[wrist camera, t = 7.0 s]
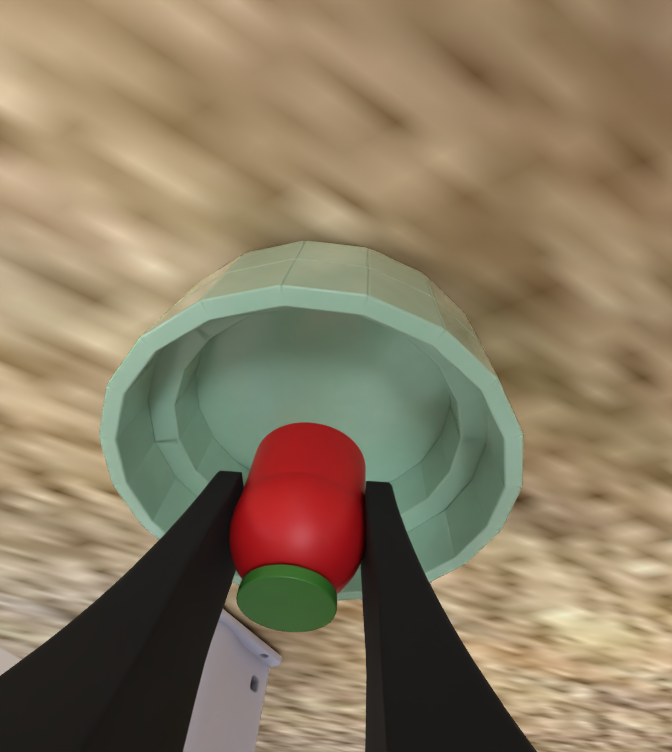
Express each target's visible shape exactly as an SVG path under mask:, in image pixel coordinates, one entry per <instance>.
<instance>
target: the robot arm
mask: <svg viewBox="0 0 672 752" xmlns="http://www.w3.org/2000/svg"><path fill="white" fill-rule="evenodd" d="M243 489H244V484H243V477H242V472H235V471H219V472H218V473H216V475H215V476H214V477H213V478H212V480H211V481H210V482H209V483H208V485H207V486H206V487H205V488H204V490H203V491H202V492H201V493H200V494H199V496H198V497H197V498H196V499H195V500H194V502H193V503H192V504H191V505H190V506H189V507H188V509H187V510H186V511H185V512H184V513H183V514H182V515H181V517H180V518H179V519H178V520H177V521H176V522H175V523H174V524H173V525H172V527H171V528H170V529H169V530H168V531H167V532H166V533H165V534H164V535H163V536H162V538H161V539H160V540H159V541H158V542H157V543H156V544H155V545H154V546H153V547H152V548H151V549H150V550H149V551H148V552H147V553H146V554H145V555H144V556H143V557H142V558H141V559H140V560H139V561H138V562H137V563H136V564H135V565H134V566H133V567H132V568H131V569H130V570H129V571H128V572H127V573H126V574H125V575H124V576H123V577H122V578H121V579H119V580H118V581H117V582H116V583H115V584H114V585H113V586H112V587H111V588H110V589H109V590H107V591H106V592H105V593H104V594H103V595H102V596H101V597H100V598H99V599H97V600H96V601H95V602H94V603H93V604H92V605H90V606H89V607H88V608H87V609H86V610H84V611H83V612H82V613H81V614H80V615H78V616H77V617H76V618H75V619H74V620H72V621H71V622H70V623H69V624H68V625H67V626H65V627H64V628H63V629H62V630H60V631H59V632H58V633H57V634H55V635H54V636H53V637H52V638H50V639H49V640H48V641H46V642H45V643H44V644H43V645H41V646H40V647H38V648H37V649H36V650H34V651H33V652H32V653H30V654H29V655H28V656H26V657H25V658H24V659H22V660H21V661H20V662H19V663H17V664H16V665H14V666H13V667H12V668H10V669H9V670H8V671H6V672H5V673H4V674H2V675H1V676H0V752H255V746H256V741H257V735H258V730H259V724H260V719H261V713H262V708H263V702H264V697H265V691H266V686H267V680H268V675H269V669H270V667H275V666H278V665H280V664H281V656H280V655H279V654H278V653H277V652H276V651H274V650H273V649H272V648H271V647H270V646H268V645H267V644H266V643H265V642H263V641H262V640H261V639H260V638H258V637H257V636H256V635H255V634H253V633H252V632H251V631H250V630H249V629H247V628H246V627H245V626H244V625H242V624H241V623H240V622H239V621H237V620H236V619H235V618H234V617H233V616H231V615H230V614H229V613H228V612H226V611H225V610H224V609H223V607H224V604H225V601H226V598H227V595H228V592H229V589H230V586H231V583H232V580H233V577H234V575H235V572H236V568H235V565H234V563H233V560H232V556H231V551H230V544H229V532H230V523H231V519H232V516H233V512H234V509H235V507H236V504H237V502H238V500H239V499H240V497H241V494H242V492H243ZM361 584H362V600H363V616H364V632H365V648H366V674H367V681H366V745H365V752H537V751H536V750H535V749H534V747H533V746H532V745H531V743H530V742H529V741H528V739H527V738H526V736H525V735H524V734H523V732H522V731H521V729H520V728H519V727H518V725H517V724H516V723H515V721H514V720H513V718H512V717H511V716H510V714H509V713H508V711H507V710H506V709H505V707H504V706H503V704H502V703H501V701H500V700H499V698H498V697H497V695H496V694H495V692H494V691H493V689H492V688H491V686H490V685H489V683H488V682H487V680H486V679H485V677H484V676H483V674H482V673H481V671H480V670H479V668H478V667H477V665H476V664H475V662H474V661H473V659H472V657H471V656H470V654H469V652H468V651H467V649H466V647H465V646H464V644H463V643H462V641H461V639H460V638H459V636H458V634H457V633H456V631H455V629H454V627H453V626H452V624H451V622H450V620H449V619H448V617H447V615H446V613H445V611H444V610H443V608H442V606H441V604H440V602H439V600H438V598H437V597H436V595H435V593H434V591H433V589H432V587H431V585H430V583H429V581H428V579H427V577H426V575H425V572H424V570H423V568H422V566H421V564H420V562H419V560H418V557H417V555H416V553H415V550H414V548H413V546H412V543H411V541H410V539H409V536H408V534H407V531H406V529H405V526H404V523H403V520H402V518H401V515H400V512H399V509H398V506H397V502H396V499H395V495H394V491H393V487H392V485H391V484H390V483H389V482H378V481H366V488H365V551H364V556H363V559H362V561H361Z"/></svg>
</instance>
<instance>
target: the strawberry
mask: <svg viewBox="0 0 672 752" xmlns="http://www.w3.org/2000/svg"><path fill="white" fill-rule="evenodd" d="M365 484H366V466H365V460H364V457H363V454H362V452H361V450H360V449H359V447H358V446H357V445H356V443H355V442H354V441H353V440H352V439H351V438H350V437H348V436H347V435H346V434H344V433H343V432H341V431H339V430H337V429H335V428H333V427H330V426H327V425H323V424H319V423H311V422H299V423H292V424H288V425H284V426H282V427H279V428H277V429H275V430H274V431H272V432H271V433H269V434H268V435H267V436H266V437H265V438H264V439H263V440H262V441H261V443H260V444H259V446H258V448H257V451H256V454H255V456H254V459H253V462H252V465H251V468H250V471H249V474H248V477H247V480H246V483H245V486H244V489H243V492H242V494H241V497H240V499H239V500H238V502H237V504H236V507H235V509H234V512H233V516H232V519H231V523H230V532H229V544H230V551H231V556H232V560H233V563H234V565H235V568H236V570H237V572H238V574H239V576H240V577H241V579H242V580H241V582H240V585H239V589H238V593H237V604H238V607H239V608H240V610H241V611H242V613H243V614H244V615H245V616H246V617H248V618H249V619H250V620H252V621H254V622H255V623H257V624H259V625H262V626H264V627H267V628H270V629H274V630H278V631H284V632H307V631H312V630H316V629H319V628H321V627H323V626H325V625H327V624H328V623H330V622H331V621H332V620H333V618H334V616H335V614H336V610H337V594H338V593H339V592H340V591H342V590H343V589H344V588H345V587H346V586H347V584H348V583H349V582H350V581H351V580H352V578H353V577H354V575H355V573H356V572H357V570H358V568H359V566H360V564H361V561H362V559H363V556H364V551H365Z"/></svg>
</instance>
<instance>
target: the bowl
mask: <svg viewBox="0 0 672 752" xmlns="http://www.w3.org/2000/svg"><path fill="white" fill-rule="evenodd" d="M299 422H311V423H319V424H323V425H327V426H330V427H333V428H335V429H337V430H339V431H341V432H343V433H344V434H346V435H347V436H348V437H350V438H351V439H352V440H353V441H354V442H355V443H356V445H357V446H358V447H359V449H360V450H361V452H362V454H363V457H364V460H365V466H366V481H378V482H389V483H390V484H391V485H392V487H393V491H394V495H395V499H396V502H397V506H398V509H399V512H400V515H401V518H402V520H403V523H404V526H405V529H406V531H407V534H408V536H409V539H410V541H411V543H412V546H413V548H414V550H415V553H416V555H417V557H418V560H419V562H420V564H421V566H422V568H423V570H424V572H425V575H426V577H427V579H428V581H429V582H431V581H433V580H435V579H437V578H439V577H441V576H443V575H445V574H447V573H449V572H451V571H453V570H455V569H457V568H458V567H460V566H462V565H464V564H465V563H467V562H468V561H469V560H470V559H471V558H473V557H474V556H475V555H476V554H477V553H478V552H479V551H480V550H481V549H482V548H483V547H484V546H485V545H486V544H487V543H488V542H489V541H490V540H492V539H493V538H494V537H495V536H496V535H497V534H498V533H499V532H500V530H501V529H502V528H503V526H504V523H505V521H506V519H507V517H508V515H509V513H510V511H511V509H512V507H513V505H514V503H515V501H516V499H517V497H518V495H519V493H520V491H521V489H522V483H523V438H524V436H523V432H522V429H521V427H520V425H519V423H518V420H517V418H516V416H515V414H514V412H513V409H512V407H511V405H510V403H509V400H508V398H507V396H506V394H505V391H504V389H503V387H502V385H501V383H500V380H499V378H498V376H497V375H496V373H495V371H494V369H493V367H492V365H491V363H490V361H489V359H488V357H487V355H486V353H485V351H484V349H483V347H482V345H481V343H480V341H479V339H478V337H477V336H476V334H475V332H474V330H473V328H472V326H471V324H470V322H469V320H468V318H467V316H466V315H465V314H464V312H463V311H462V310H461V309H460V308H459V307H458V306H457V305H456V304H455V303H454V302H453V301H452V300H451V299H450V298H449V297H448V296H447V295H446V294H444V293H443V292H442V291H441V290H440V289H439V288H438V287H437V286H436V285H435V284H434V283H433V282H432V281H431V280H430V279H429V278H428V277H427V276H424V274H423V273H421V272H419V271H417V270H415V269H413V268H411V267H409V266H406V265H404V264H402V263H400V262H398V261H396V260H394V259H391V258H389V257H387V256H385V255H383V254H381V253H379V252H376V251H374V250H372V249H368V248H366V247H358V246H349V245H341V244H332V243H324V242H315V241H299V242H294V243H290V244H285V245H280V246H276V247H271V248H266V249H262V250H257V251H252V252H248V253H246V254H244V255H241V256H239V257H238V258H236V259H235V260H233V261H231V262H230V263H228V264H227V265H225V266H224V267H222V268H220V269H219V270H217V271H216V272H214V273H212V274H211V275H209V276H208V277H206V278H204V279H203V280H201V281H200V282H199V283H197V284H196V285H195V286H194V287H193V288H192V289H191V290H190V291H189V292H188V293H187V294H186V295H185V296H184V297H182V298H181V299H180V300H179V301H178V302H177V303H176V304H175V305H174V306H173V307H172V308H171V309H169V310H168V311H167V312H166V313H165V314H164V315H163V316H162V317H161V318H160V319H159V320H158V321H157V322H156V323H154V324H153V325H152V326H151V327H150V328H149V329H148V330H147V331H146V332H145V333H144V334H143V335H142V336H140V337H139V338H138V340H137V341H136V343H135V344H134V346H133V347H132V349H131V350H130V351H129V353H128V354H127V356H126V357H125V359H124V360H123V362H122V363H121V365H120V366H119V367H118V369H117V370H116V372H115V373H114V375H113V376H112V378H111V379H110V380H109V382H108V384H107V386H106V392H105V399H104V405H103V412H102V419H101V426H100V432H99V436H100V437H99V439H100V442H101V446H102V450H103V453H104V457H105V460H106V464H107V467H108V471H109V474H110V478H111V482H112V483H113V486H114V487H115V489H116V490H117V491H118V493H119V494H120V496H121V497H122V499H123V500H124V501H125V503H126V504H127V506H128V507H129V509H130V510H131V511H132V513H133V514H134V516H135V517H136V519H137V520H138V521H139V523H140V524H141V525H142V526H143V527H144V528H146V529H147V530H148V531H149V532H150V533H152V534H153V535H154V536H155V537H156V538H157V539H159V540H160V539H161V538H162V536H163V535H164V534H165V533H166V532H167V531H168V530H169V529H170V528H171V527H172V525H173V524H174V523H175V522H176V521H177V520H178V519H179V518H180V517H181V515H182V514H183V513H184V512H185V511H186V510H187V509H188V507H189V506H190V505H191V504H192V503H193V502H194V500H195V499H196V498H197V497H198V496H199V494H200V493H201V492H202V491H203V490H204V488H205V487H206V486H207V485H208V483H209V482H210V481H211V480H212V478H213V477H214V476H215V475H216V473H218V472H219V471H235V472H242V477H243V484H244V486H245V483H246V480H247V477H248V474H249V471H250V468H251V465H252V462H253V459H254V456H255V454H256V451H257V448H258V446H259V444H260V443H261V441H262V440H263V439H264V438H265V437H266V436H267V435H268V434H269V433H271V432H272V431H274V430H275V429H277V428H279V427H282V426H284V425H288V424H292V423H299ZM365 488H366V484H365ZM241 580H242V579H241V577H240V576H239V574H238V572H237V570H236V572H235V575H234V577H233V580H232V583H235V584H238V585H240V582H241ZM353 599H362V584H361V564H360V566H359V568H358V570H357V572H356V573H355V575H354V577H353V578H352V580H351V581H350V582H349V583H348V584H347V586H346V587H345V588H344V589H343V590H342V591H340V592H339V593H338V594H337V600H353Z"/></svg>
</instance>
